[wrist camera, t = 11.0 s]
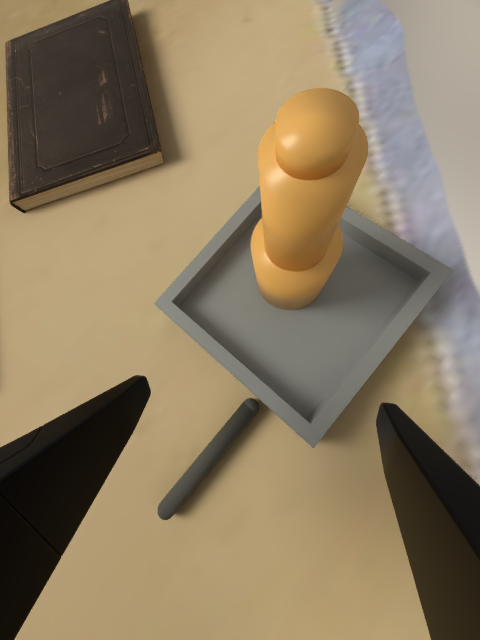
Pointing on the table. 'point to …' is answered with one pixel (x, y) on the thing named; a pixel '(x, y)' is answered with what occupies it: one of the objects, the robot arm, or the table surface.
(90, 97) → the hardcover book
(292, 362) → the grey square tray
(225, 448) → the rod
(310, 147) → the orange rounded stepped post
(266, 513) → the table surface
